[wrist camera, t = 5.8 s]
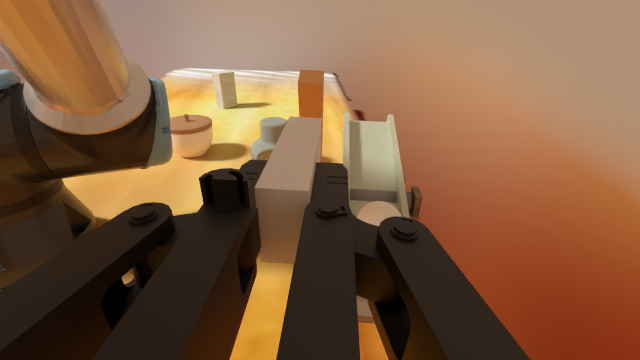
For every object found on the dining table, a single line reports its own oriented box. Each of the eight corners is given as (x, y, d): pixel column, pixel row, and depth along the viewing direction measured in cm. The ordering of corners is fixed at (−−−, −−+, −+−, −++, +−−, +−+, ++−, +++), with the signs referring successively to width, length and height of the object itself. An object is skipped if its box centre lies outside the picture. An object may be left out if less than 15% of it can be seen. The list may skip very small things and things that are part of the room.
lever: (410, 286, 28) (505, 135, 14) (301, 279, 28) (289, 125, 14) (391, 146, 41) (430, -6, 27) (316, 142, 41) (316, -11, 27)
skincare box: (230, 103, 111) (226, 70, 106) (237, 106, 109) (234, 71, 103) (216, 107, 107) (211, 72, 101) (223, 109, 105) (219, 73, 99)
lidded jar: (223, 146, 77) (218, 109, 72) (203, 164, 67) (197, 123, 63) (183, 142, 77) (176, 106, 73) (158, 160, 68) (148, 120, 64)
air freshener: (248, 171, 65) (244, 126, 60) (254, 155, 72) (251, 114, 67) (299, 171, 66) (299, 127, 61) (299, 155, 73) (299, 115, 68)
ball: (387, 265, 24) (394, 223, 22) (344, 245, 26) (348, 205, 24) (406, 241, 27) (414, 202, 25) (367, 225, 29) (371, 188, 27)
